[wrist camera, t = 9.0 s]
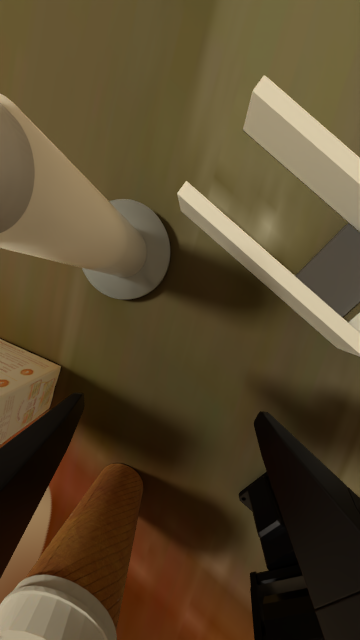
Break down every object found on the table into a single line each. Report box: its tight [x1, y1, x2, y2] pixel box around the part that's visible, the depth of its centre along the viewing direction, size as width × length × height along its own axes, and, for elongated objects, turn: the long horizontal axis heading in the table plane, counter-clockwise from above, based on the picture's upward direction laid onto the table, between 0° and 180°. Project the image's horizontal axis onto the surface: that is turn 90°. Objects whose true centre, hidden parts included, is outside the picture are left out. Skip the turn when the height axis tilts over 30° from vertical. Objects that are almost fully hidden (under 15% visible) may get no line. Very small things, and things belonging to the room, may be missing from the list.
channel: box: [177, 75, 360, 357], centre depth 15 cm, size 21×10×3 cm, turn 49°
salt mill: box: [0, 94, 147, 277], centre depth 11 cm, size 5×5×13 cm
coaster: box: [82, 199, 171, 299], centre depth 18 cm, size 10×10×1 cm
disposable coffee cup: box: [0, 463, 143, 640], centre depth 17 cm, size 10×10×12 cm
